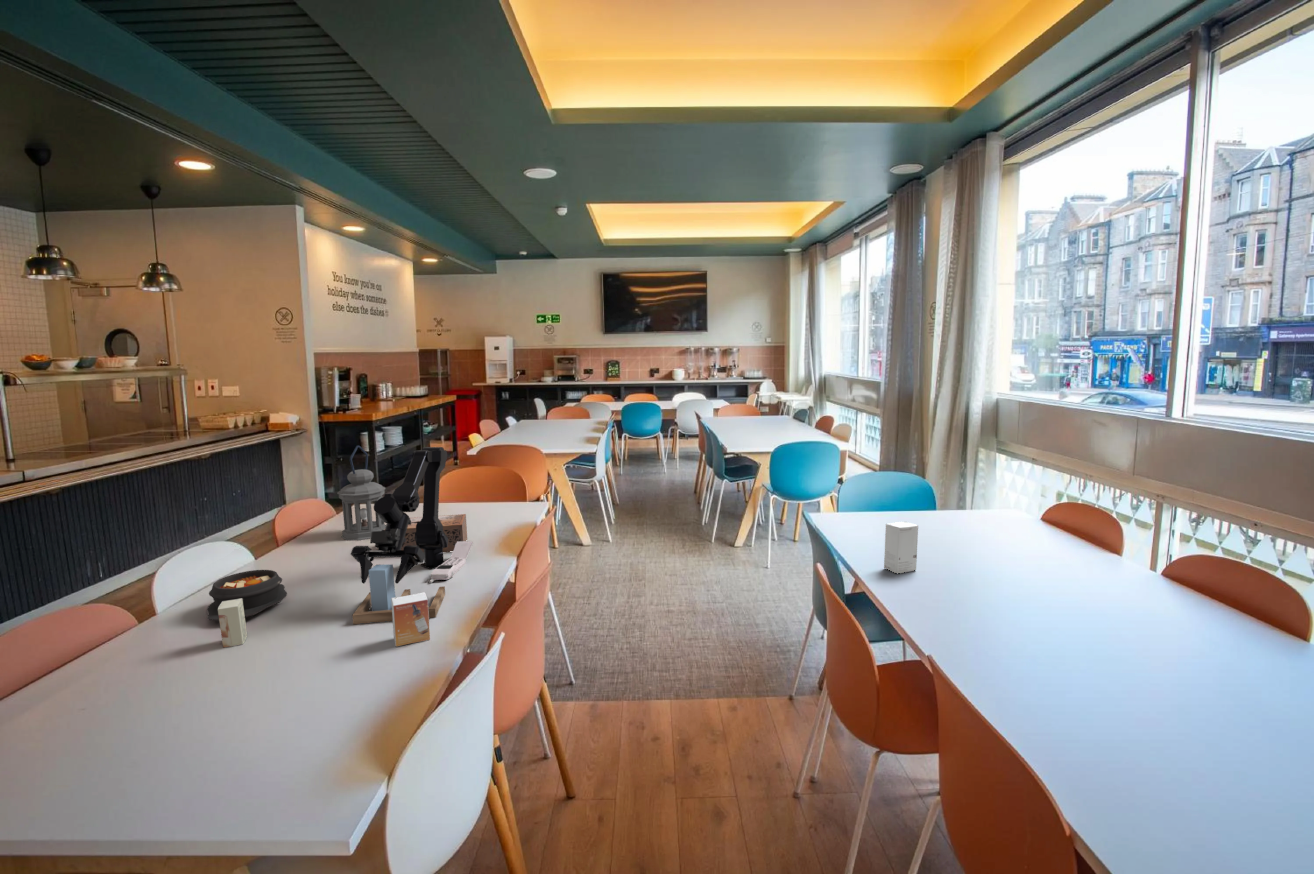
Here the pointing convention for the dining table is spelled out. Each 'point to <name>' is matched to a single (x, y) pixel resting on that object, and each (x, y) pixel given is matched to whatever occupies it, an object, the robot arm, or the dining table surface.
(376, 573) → the pale blue tall block
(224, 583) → the casserole
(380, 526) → the lantern
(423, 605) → the small box
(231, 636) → the skincare box
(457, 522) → the tissue box cover
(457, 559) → the mobile phone
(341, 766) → the dining table surface
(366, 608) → the comb rack
